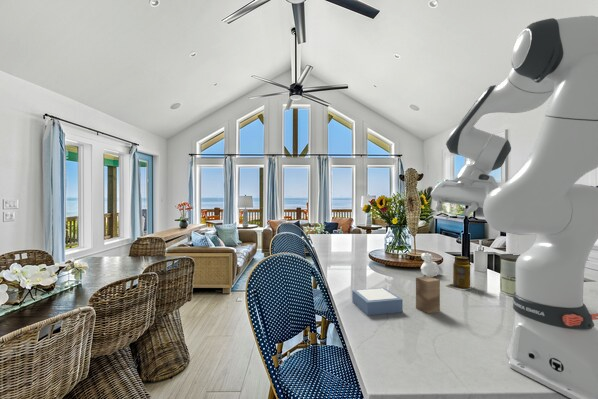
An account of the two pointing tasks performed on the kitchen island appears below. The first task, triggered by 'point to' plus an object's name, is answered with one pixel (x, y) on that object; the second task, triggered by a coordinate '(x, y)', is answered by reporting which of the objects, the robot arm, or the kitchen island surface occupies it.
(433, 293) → the walnut block
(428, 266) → the white rounded piece
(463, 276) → the condiment
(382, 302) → the pedestal
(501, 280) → the coffee can
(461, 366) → the kitchen island surface
